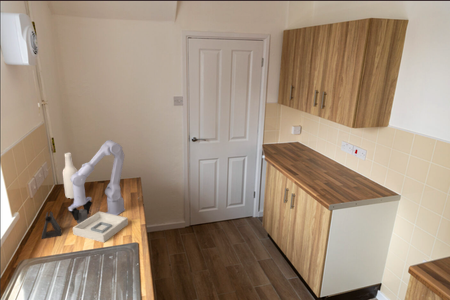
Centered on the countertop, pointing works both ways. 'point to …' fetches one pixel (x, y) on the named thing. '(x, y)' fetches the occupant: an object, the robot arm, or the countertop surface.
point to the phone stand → (55, 225)
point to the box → (100, 226)
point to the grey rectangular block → (82, 215)
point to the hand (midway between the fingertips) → (81, 217)
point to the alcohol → (68, 175)
